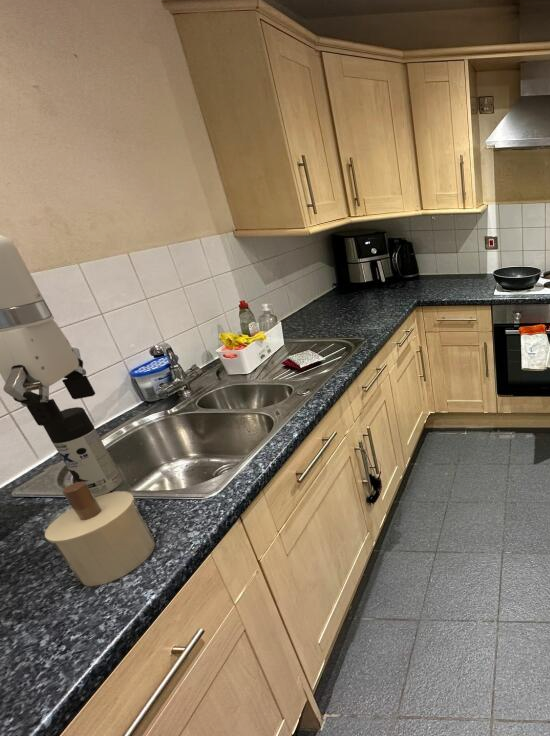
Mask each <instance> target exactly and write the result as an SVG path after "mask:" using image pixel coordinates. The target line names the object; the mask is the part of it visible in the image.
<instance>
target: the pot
mask: <svg viewBox="0 0 550 736" xmlns="http://www.w3.org/2000/svg"><path fill="white" fill-rule="evenodd" d="M52 544H53V545H54V547H55V548H56V550H57V551H58V553H59V554H60V555H61V557H62V558H63V560H64V561H65V563H66V564H67V566H68V567H69V569H70V570H71V572H72V573H73V574H74V576H75V577H76V579H77V580H78V581H79V582H80V583H81V584H82V585H83V586H85V587H97V586H103V585H105V584H109V583H112V582H114V581H116V580H118V579H120V578H122V577H124V576H126V575H128V574H129V573H131V572H133V571H134V570H135V569H137V568H138V567H140V566H141V565H142V564H143V563H144V562H146V560H147V559H148V558H150V556H151V555H152V553H153V552H154V550H155V548H156V541H155V538H154V537H153V534H152V533H151V531H150V529H149V527H148V526H147V523H146V522H145V520H144V518H143V516H142V515H141V513H140V511H139V510H138V508H137V506H136V504H135V502H134V503H133V505H132V507H131V508H130V509H129V511H128V512H127V513H126V514H124V515H123V516H122V517H121V518H120V519H118V520H117V521H115V522H114V523H112V524H111V525H109V526H107V527H106V528H104V529H102V530H100V531H98V532H96V533H94V534H92V535H89V536H87V537H84V538H81V539H78V540H75V541H71V542H66V543H52Z"/></svg>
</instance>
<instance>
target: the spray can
mask: <svg viewBox="0 0 550 736" xmlns="http://www.w3.org/2000/svg"><path fill="white" fill-rule="evenodd" d="M60 411H61V413H62V415H63V416H64V418H65V419H64V420H63V421H62V422H58V423H53V424H48V425H43V426H42V427H43V429H44V430H45V433H46V434H47V436H48V437H49V439H50V441H51V442H52V444H53V446H54V447H55V449H56V451H57V452H58V455H59V456H60V458H61V459H62V461H63V463H64V464H65V466H66V468H67V469H68V471H69V473H70V474H71V476H72V478H73V480H74V481H75V483H77V482H82V481H83V482H86V484H87V486H88V487H89V489H90V491H91V492H92V494H93V496H94V497H98V496H101V495H104V494H108V493H111V492H109V491H112V492H115V490H117V489H118V488H119V487H121V485H122V483H123V478H122V476H121V474H120V472H119V470H118V468H117V467H116V464H115V463H114V461H113V459H112V458H111V455H110V453H109V452H108V450H107V448H106V446H105V445H104V442H103V441H102V439H101V437H100V435H99V433H98V432H97V429H96V427H95V425H94V424H93V422H92V420H91V419H90V417H89V415H88V414H87V412H86V410H85V409H84V408H83V407H79V406H75V407H70V408H66V409H65V408H64V409H63V410H60Z"/></svg>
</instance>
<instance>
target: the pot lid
mask: <svg viewBox="0 0 550 736" xmlns="http://www.w3.org/2000/svg"><path fill="white" fill-rule="evenodd" d="M62 494H63V496H64V497H65V499H66V500H67V501H68V503H69V505H70V506H71V508H70V509H68V510H66V511H65V512H63V513H62V514H61V515H59V516H58V517H56V518H55V519H54V520H53V521H52V522H51V523H50V524H49V525H48V526H47V528H46V530H45V532H44V537H45V539H46V541H48V542H49V543H51V544H53V543H66V542H71V541H75V540H78V539H81V538H84V537H87V536H89V535H92V534H94V533H96V532H98V531H100V530H102V529H104V528H106V527H107V526H109V525H111V524H112V523H114V522H115V521H117V520H118V519H120V518H121V517H122V516H123V515H124V514H126V513H127V512H128V511H129V509H130V508H131V507H132V505H133V503H134V504H135V497H134V495H133V494H132V493H131V492H128V491H112V492H110V493H108V494H104V495H101V496H98V497H94V496H93V494H92V492H91V491H90V489H89V487H88V486H87V484H86V482H83V481H82V482H77V483H76V482H74V483H71V484H70V485H68V486H66V487H65V488H64V489H62Z"/></svg>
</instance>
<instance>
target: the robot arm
mask: <svg viewBox="0 0 550 736" xmlns="http://www.w3.org/2000/svg"><path fill="white" fill-rule="evenodd" d="M0 376H1V378H2V379H3V381H4V385H3V392H5V393H6V395H9V396H10V397H12V399H13V401H15V402H17V403H20V405H21V406H22V407H26V408H27V410H28V412H29V413H30V415H31V416H32V418H33V420H34V421H35V423H36V424H37V426H40V427H43V425H48V424H53V423H58V422H62V421H63V420H64V419H65V418H64V416H63V415H62V413H61V411H62V410H61V409H60V408H59V406H58V404H57V403H56V401H55V399H54V398H50V387H51V386H52V385H55V384H56V383H58V382H59V381H60V380H61V381H62V383H63V385H64V386H65V388H66V390H67V392H68V394H69V395H70V397H71V399H72V400H79V399H84V398H89V397H93V396H95V395H96V391H95V390H94V387H93V385H92V384H91V381H90V380H89V379H88V376H87V371H86V369H85V368H84V360H82V358H81V351H80V349H79V348H78V347H72V345H71V343H70V342H69V340H68V338H67V337H66V336H65V333H64V332H63V330H62V329H61V328H60V327H59V325H58V324H57V322H56V321H55V317H54V315H53V314H52V311H51V309H50V308H49V306H48V304H47V302H46V300H45V299H44V297H43V295H42V293H41V291H40V289H39V287H38V285H37V283H36V282H35V280H34V278H33V276H32V274H31V272H30V270H29V269H28V267H27V264H26V263H25V261H24V259H23V257H22V256H21V254H20V252H19V250H18V248H17V246H16V245H15V243H14V242H13V241H12V240H11V239H10V238H9V237H7V236H5V235H2V234H0ZM63 378H64V379H63ZM37 390H38V393H35V392H33V391H37Z"/></svg>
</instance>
